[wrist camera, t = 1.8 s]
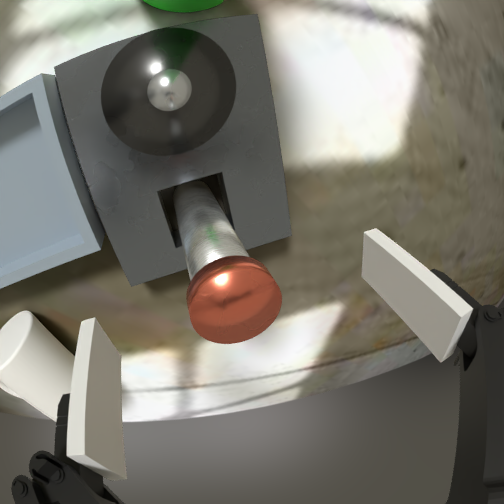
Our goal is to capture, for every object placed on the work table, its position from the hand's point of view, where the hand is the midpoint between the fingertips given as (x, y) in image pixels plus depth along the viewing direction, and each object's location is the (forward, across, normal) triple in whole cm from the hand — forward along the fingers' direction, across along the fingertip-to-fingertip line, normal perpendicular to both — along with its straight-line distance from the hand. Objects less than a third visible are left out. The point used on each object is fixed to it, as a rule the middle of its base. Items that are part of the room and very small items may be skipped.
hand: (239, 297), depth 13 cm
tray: (+13, -18, +7) cm, 23 cm away
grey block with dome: (+13, 0, +5) cm, 14 cm away
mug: (+13, -24, -10) cm, 29 cm away
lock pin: (+13, 0, 0) cm, 13 cm away
